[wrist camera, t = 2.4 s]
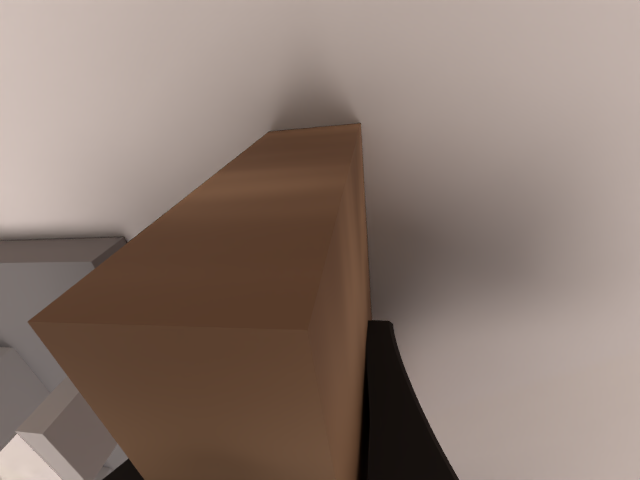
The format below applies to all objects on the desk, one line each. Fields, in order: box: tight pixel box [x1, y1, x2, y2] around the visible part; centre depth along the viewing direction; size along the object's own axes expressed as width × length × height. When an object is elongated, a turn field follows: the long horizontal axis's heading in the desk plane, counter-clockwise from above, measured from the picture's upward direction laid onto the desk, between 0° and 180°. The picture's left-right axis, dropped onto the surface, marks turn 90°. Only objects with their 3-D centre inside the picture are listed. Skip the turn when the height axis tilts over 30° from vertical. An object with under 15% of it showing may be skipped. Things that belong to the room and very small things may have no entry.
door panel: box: [28, 123, 372, 480], centre depth 9 cm, size 12×3×7 cm, turn 7°
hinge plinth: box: [0, 237, 128, 480], centre depth 15 cm, size 20×8×4 cm, turn 7°
